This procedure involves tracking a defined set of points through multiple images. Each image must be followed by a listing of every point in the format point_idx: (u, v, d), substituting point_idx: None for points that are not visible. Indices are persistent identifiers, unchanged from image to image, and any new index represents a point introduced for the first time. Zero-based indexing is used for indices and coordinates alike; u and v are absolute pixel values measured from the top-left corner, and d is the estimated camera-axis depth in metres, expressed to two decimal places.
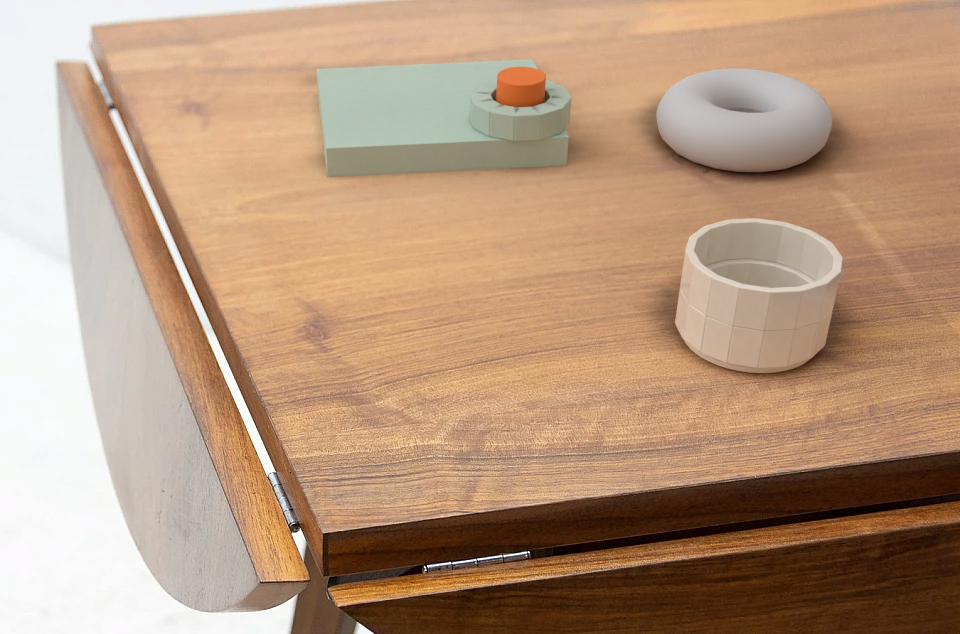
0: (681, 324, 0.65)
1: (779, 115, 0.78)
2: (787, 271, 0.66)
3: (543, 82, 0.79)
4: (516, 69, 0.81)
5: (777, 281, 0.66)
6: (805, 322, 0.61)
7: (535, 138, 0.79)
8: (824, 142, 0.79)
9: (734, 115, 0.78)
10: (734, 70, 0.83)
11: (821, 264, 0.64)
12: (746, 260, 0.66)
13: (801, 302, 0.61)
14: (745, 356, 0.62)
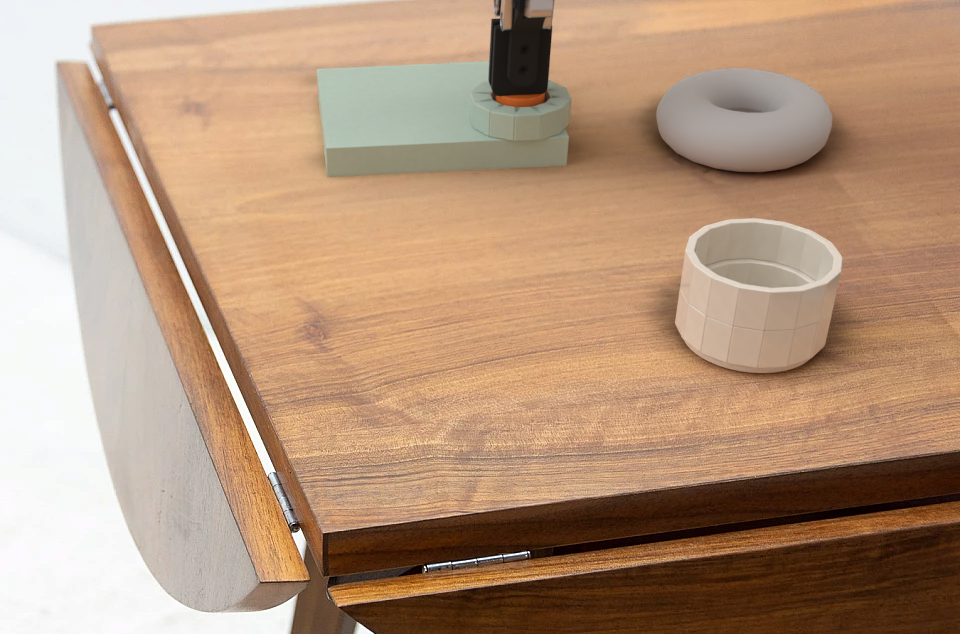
0: (681, 324, 0.65)
1: (779, 115, 0.78)
2: (787, 271, 0.66)
3: (542, 96, 0.80)
4: None
5: (777, 281, 0.66)
6: (805, 322, 0.61)
7: (535, 138, 0.79)
8: (824, 142, 0.79)
9: (734, 115, 0.78)
10: (734, 70, 0.83)
11: (821, 264, 0.64)
12: (746, 260, 0.66)
13: (801, 302, 0.61)
14: (745, 356, 0.62)
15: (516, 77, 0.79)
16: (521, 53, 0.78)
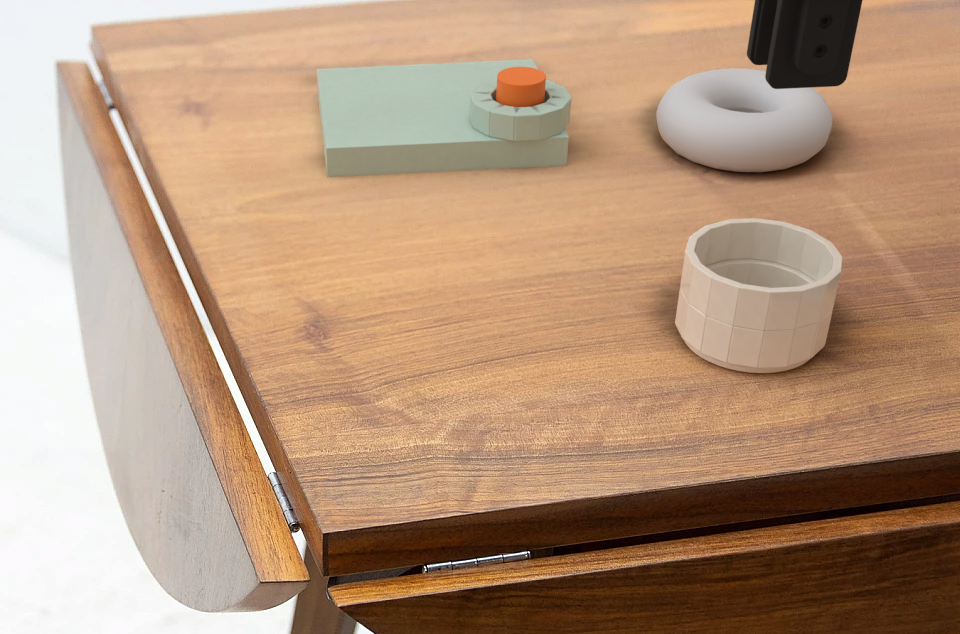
0: (681, 324, 0.65)
1: (779, 115, 0.78)
2: (787, 271, 0.66)
3: (543, 82, 0.79)
4: (516, 69, 0.81)
5: (777, 281, 0.66)
6: (805, 322, 0.61)
7: (535, 138, 0.79)
8: (824, 142, 0.79)
9: (734, 115, 0.78)
10: (734, 70, 0.83)
11: (821, 264, 0.64)
12: (746, 260, 0.66)
13: (801, 302, 0.61)
14: (745, 356, 0.62)
15: (808, 62, 0.55)
16: (820, 27, 0.55)
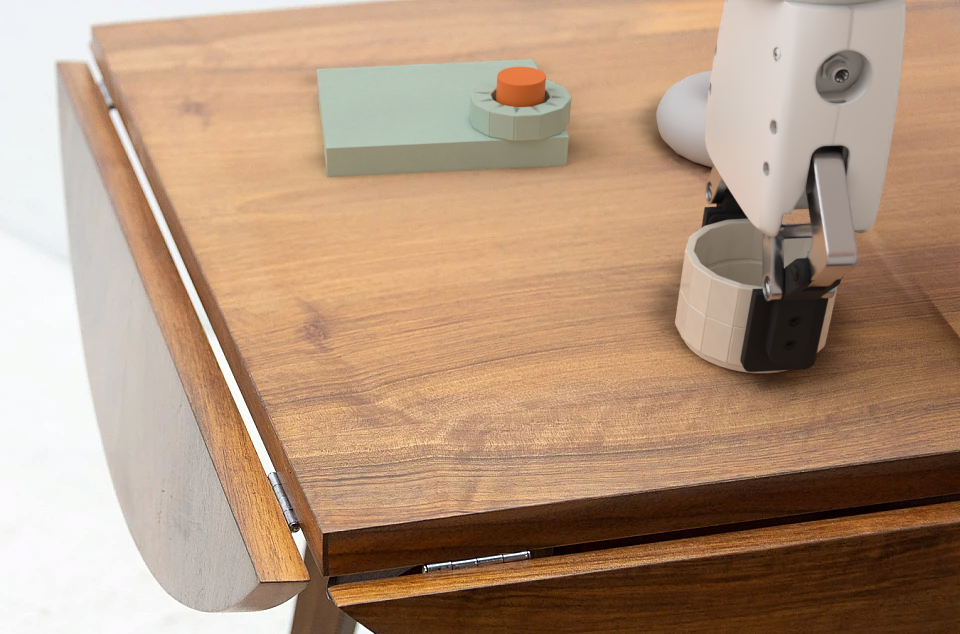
0: (681, 324, 0.65)
1: None
2: None
3: (543, 82, 0.79)
4: (516, 69, 0.81)
5: None
6: None
7: (535, 138, 0.79)
8: None
9: None
10: None
11: None
12: (746, 260, 0.66)
13: None
14: None
15: (779, 353, 0.60)
16: (789, 325, 0.60)
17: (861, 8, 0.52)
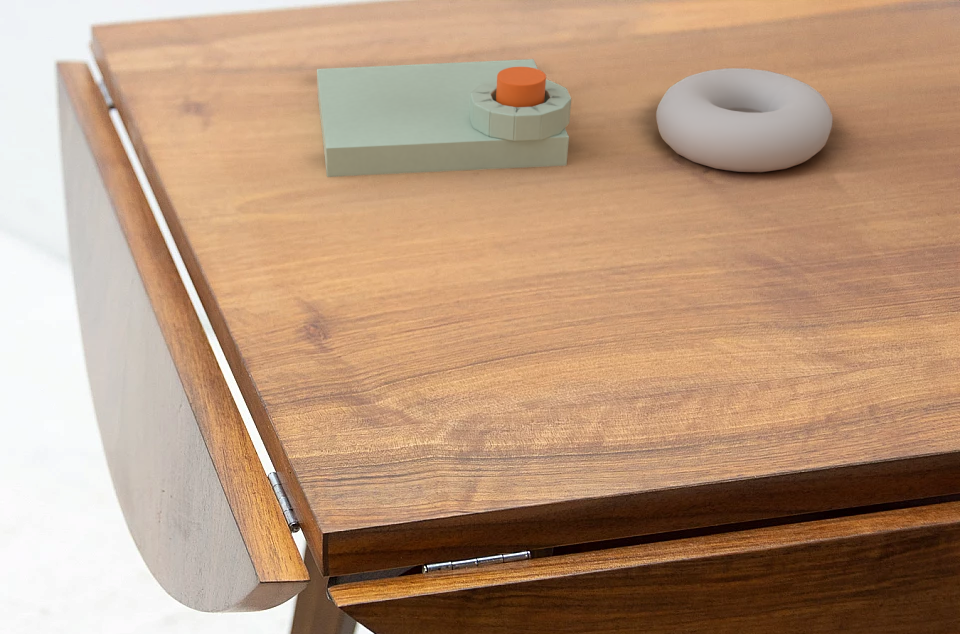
0: None
1: (779, 115, 0.78)
2: None
3: (543, 82, 0.79)
4: (516, 69, 0.81)
5: None
6: None
7: (535, 138, 0.79)
8: (824, 142, 0.79)
9: (734, 115, 0.78)
10: (734, 70, 0.83)
11: None
12: None
13: None
14: None
15: None
16: None
17: None
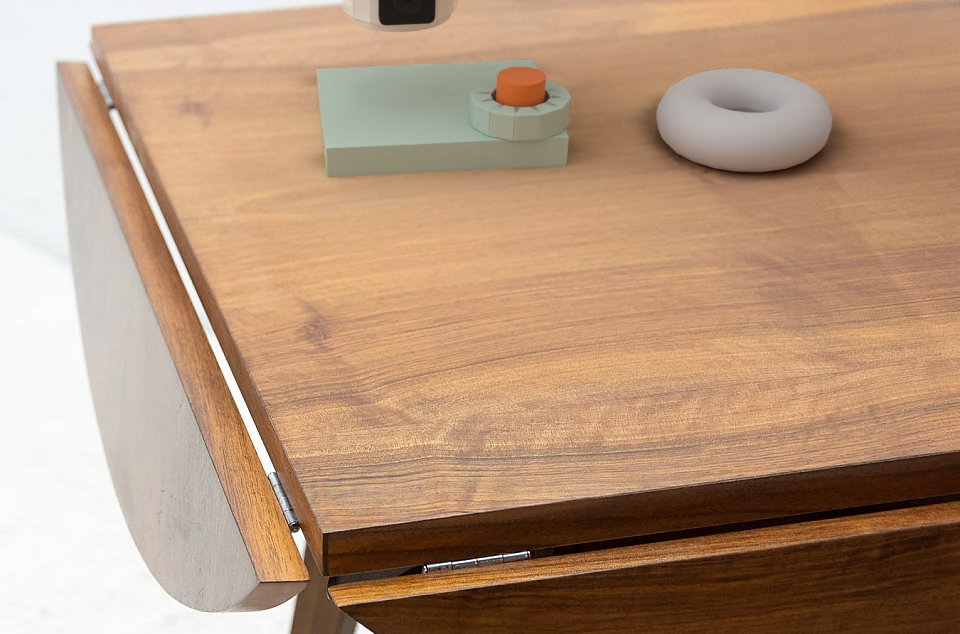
0: None
1: (779, 115, 0.78)
2: None
3: (543, 82, 0.79)
4: (516, 69, 0.81)
5: None
6: None
7: (535, 138, 0.79)
8: (824, 142, 0.79)
9: (734, 115, 0.78)
10: (734, 70, 0.83)
11: None
12: None
13: None
14: None
15: (401, 5, 0.78)
16: None
17: None
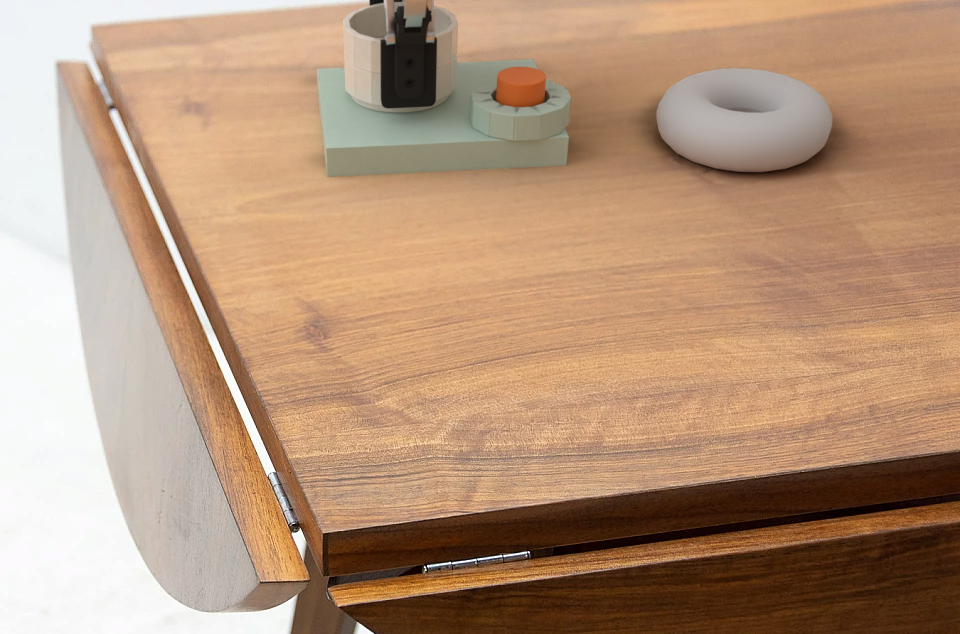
0: (344, 80, 0.85)
1: (779, 115, 0.78)
2: None
3: (543, 82, 0.79)
4: (516, 69, 0.81)
5: None
6: None
7: (535, 138, 0.79)
8: (824, 142, 0.79)
9: (734, 115, 0.78)
10: (734, 70, 0.83)
11: None
12: None
13: None
14: None
15: (403, 90, 0.80)
16: (407, 66, 0.79)
17: None
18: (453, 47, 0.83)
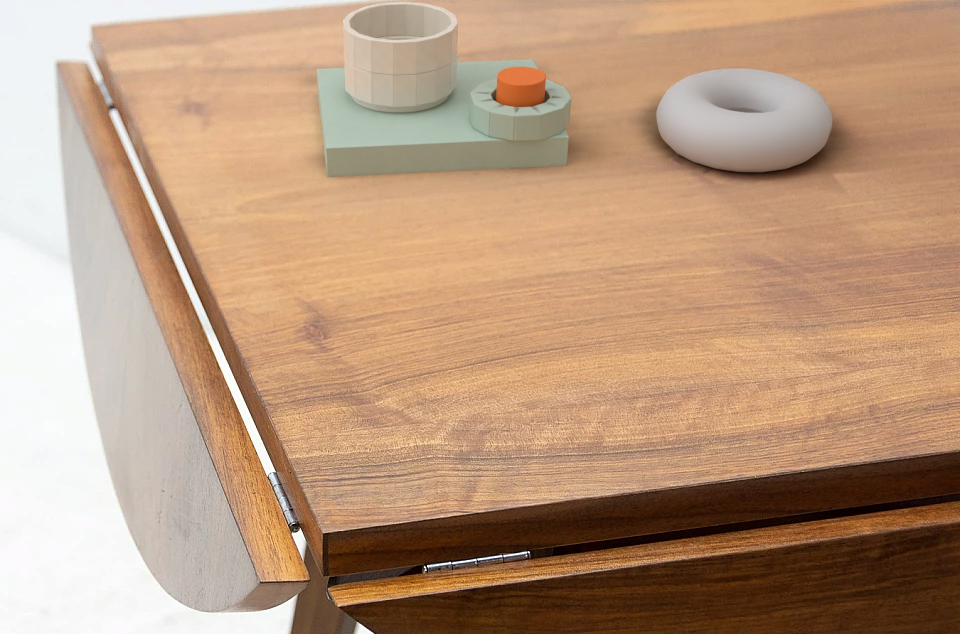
0: (344, 80, 0.85)
1: (779, 115, 0.78)
2: None
3: (543, 82, 0.79)
4: (516, 69, 0.81)
5: None
6: (425, 69, 0.81)
7: (535, 138, 0.79)
8: (824, 142, 0.79)
9: (734, 115, 0.78)
10: (734, 70, 0.83)
11: None
12: (402, 36, 0.86)
13: (417, 51, 0.81)
14: (383, 98, 0.82)
15: None
16: None
17: None
18: (453, 47, 0.83)
